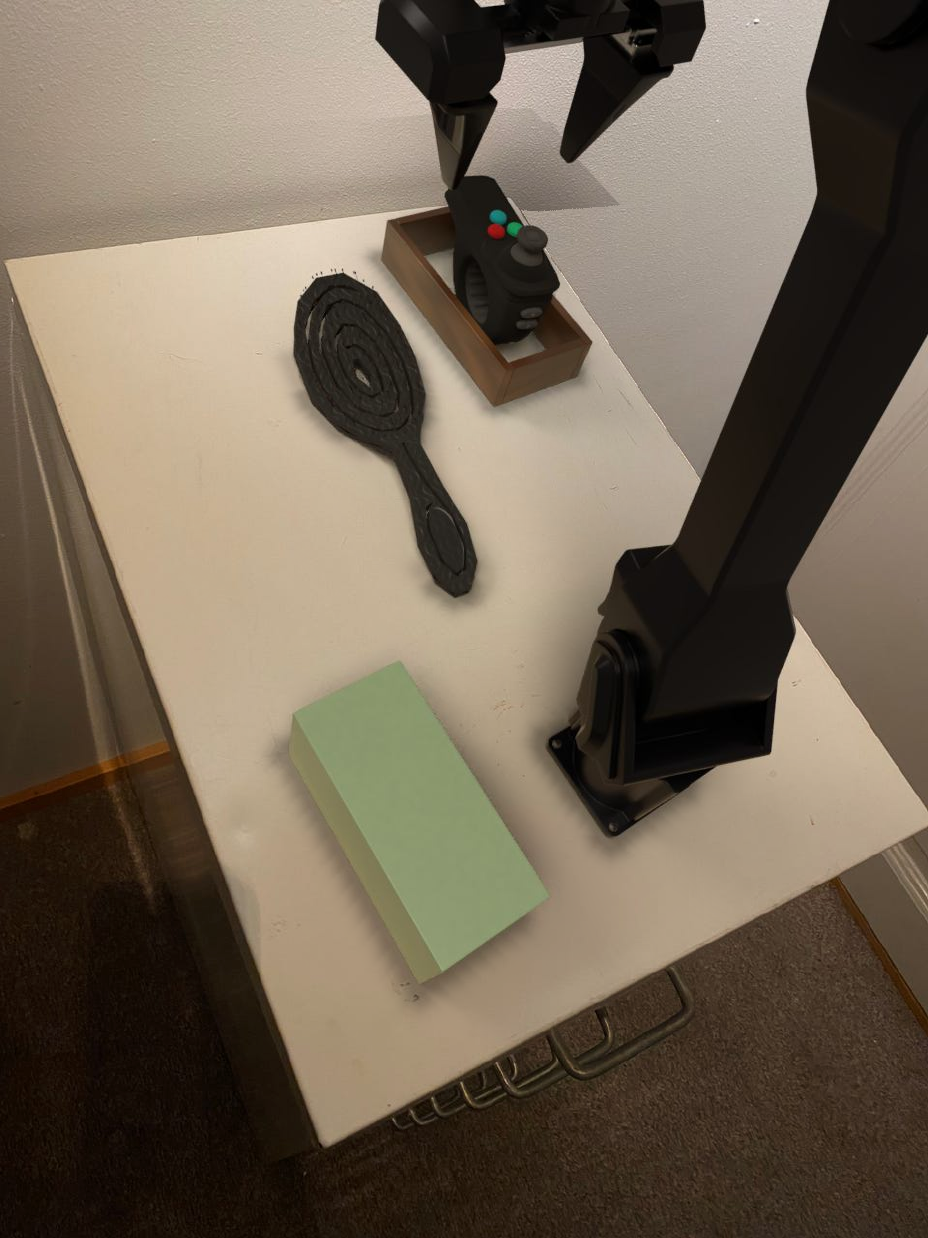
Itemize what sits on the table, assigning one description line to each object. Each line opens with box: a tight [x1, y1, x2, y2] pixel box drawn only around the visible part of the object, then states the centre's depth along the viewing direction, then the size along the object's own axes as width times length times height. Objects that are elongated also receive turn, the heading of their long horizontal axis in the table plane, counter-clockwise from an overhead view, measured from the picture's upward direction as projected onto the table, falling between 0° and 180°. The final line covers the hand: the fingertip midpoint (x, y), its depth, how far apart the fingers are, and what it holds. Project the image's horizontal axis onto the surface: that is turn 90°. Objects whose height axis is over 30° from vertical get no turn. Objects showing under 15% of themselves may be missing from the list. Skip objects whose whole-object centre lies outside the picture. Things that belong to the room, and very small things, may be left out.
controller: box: [444, 174, 561, 346], centre depth 59 cm, size 4×12×10 cm, turn 23°
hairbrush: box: [292, 267, 478, 599], centre depth 54 cm, size 8×4×25 cm
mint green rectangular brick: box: [288, 659, 552, 985], centre depth 41 cm, size 13×6×6 cm, turn 33°
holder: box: [380, 205, 594, 407], centre depth 62 cm, size 16×8×4 cm, turn 33°
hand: (509, 171), depth 52 cm, fingers open, 9 cm apart
